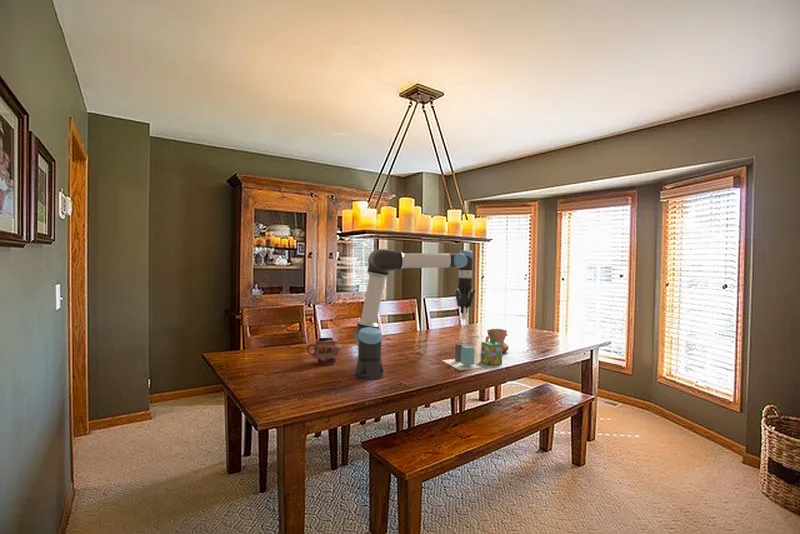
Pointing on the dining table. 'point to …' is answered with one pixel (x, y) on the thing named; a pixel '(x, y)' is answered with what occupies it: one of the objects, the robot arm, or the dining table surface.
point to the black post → (458, 352)
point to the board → (460, 365)
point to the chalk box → (491, 352)
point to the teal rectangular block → (467, 355)
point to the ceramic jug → (498, 337)
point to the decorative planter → (325, 350)
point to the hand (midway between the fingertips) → (463, 318)
